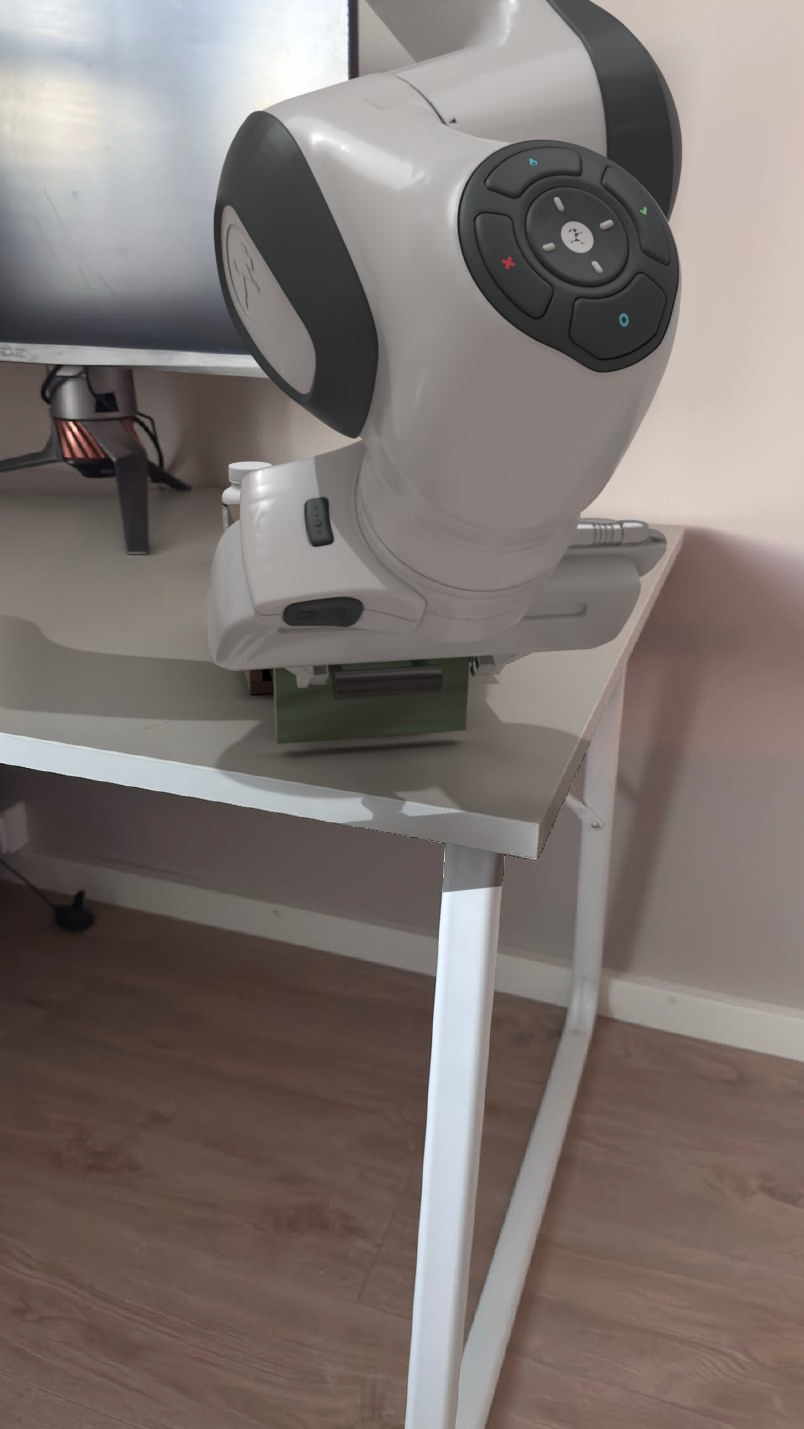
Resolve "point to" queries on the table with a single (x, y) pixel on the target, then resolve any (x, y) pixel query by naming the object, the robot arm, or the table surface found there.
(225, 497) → the pill bottle
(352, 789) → the table surface
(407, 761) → the table surface
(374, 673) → the drawer
